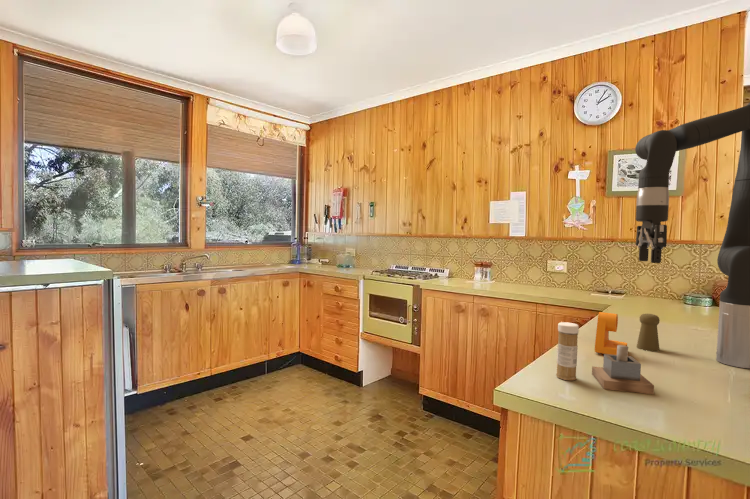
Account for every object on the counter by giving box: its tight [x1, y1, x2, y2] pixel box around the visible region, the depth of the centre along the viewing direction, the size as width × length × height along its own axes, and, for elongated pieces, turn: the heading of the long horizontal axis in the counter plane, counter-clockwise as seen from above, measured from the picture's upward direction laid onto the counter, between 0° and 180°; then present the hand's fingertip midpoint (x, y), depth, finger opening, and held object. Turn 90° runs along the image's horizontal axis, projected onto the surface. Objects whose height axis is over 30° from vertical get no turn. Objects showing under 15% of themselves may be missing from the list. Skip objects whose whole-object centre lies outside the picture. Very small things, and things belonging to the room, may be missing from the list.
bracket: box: [594, 311, 628, 355], centre depth 120 cm, size 11×7×12 cm, turn 142°
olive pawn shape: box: [636, 313, 661, 352], centre depth 126 cm, size 6×6×11 cm
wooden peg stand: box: [591, 345, 655, 395], centre depth 95 cm, size 10×10×9 cm
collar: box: [602, 354, 642, 381], centre depth 95 cm, size 6×6×4 cm
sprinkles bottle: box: [555, 321, 580, 381], centre depth 98 cm, size 5×5×14 cm
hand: (649, 262), depth 113 cm, fingers open, 8 cm apart
